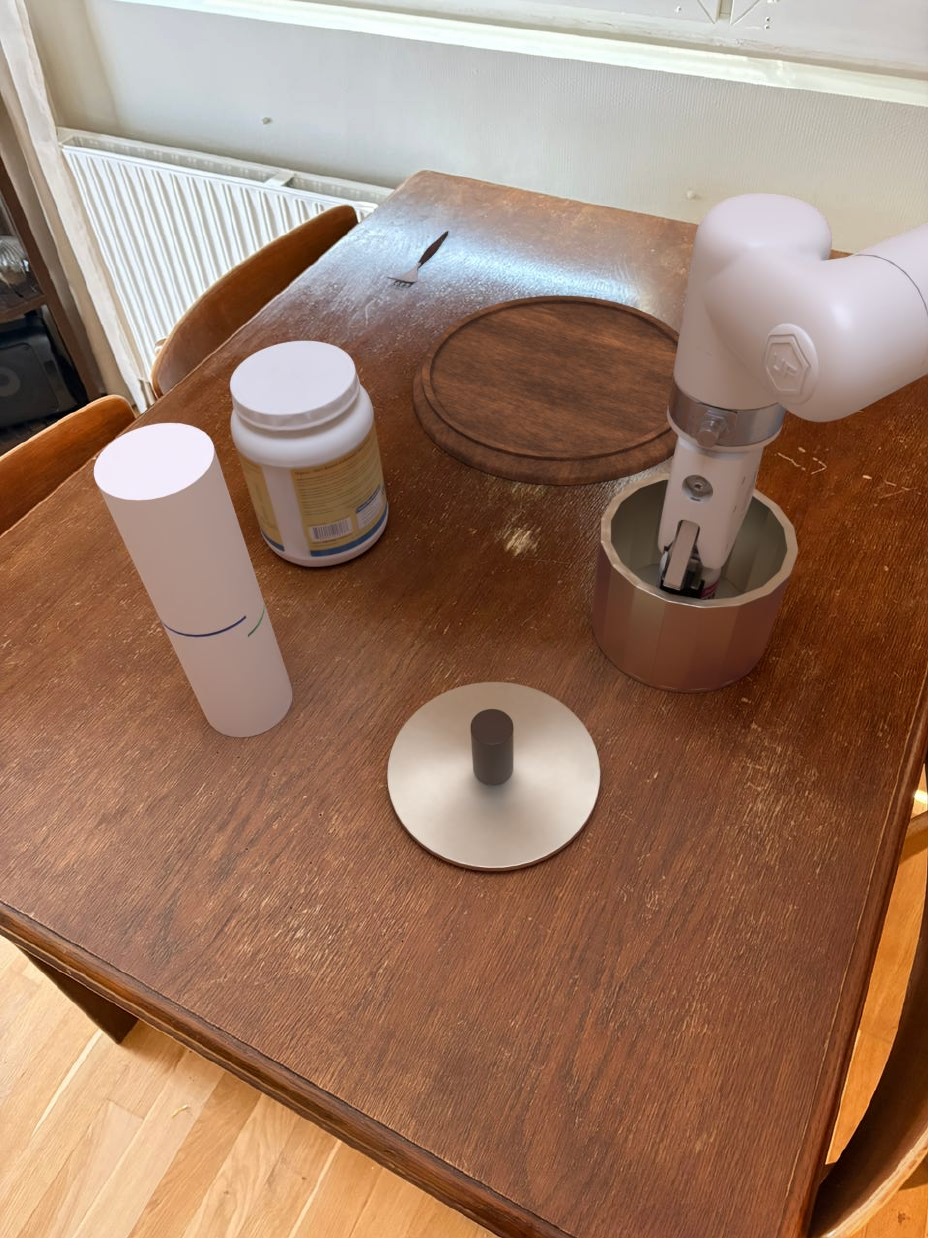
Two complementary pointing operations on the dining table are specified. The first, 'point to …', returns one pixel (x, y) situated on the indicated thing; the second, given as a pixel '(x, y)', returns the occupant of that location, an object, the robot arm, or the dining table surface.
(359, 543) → the supplement tub
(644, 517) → the pot
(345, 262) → the dining table surface
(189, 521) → the cylindrical container
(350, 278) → the dining table surface
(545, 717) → the lid
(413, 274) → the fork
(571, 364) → the cutting board
